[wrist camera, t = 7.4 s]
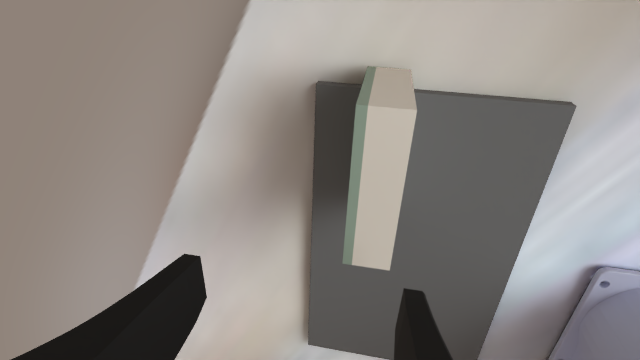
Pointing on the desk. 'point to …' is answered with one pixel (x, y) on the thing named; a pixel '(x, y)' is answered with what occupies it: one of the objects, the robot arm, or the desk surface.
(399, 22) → the desk surface
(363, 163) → the tile
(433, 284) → the mat
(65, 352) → the robot arm
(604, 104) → the desk surface
